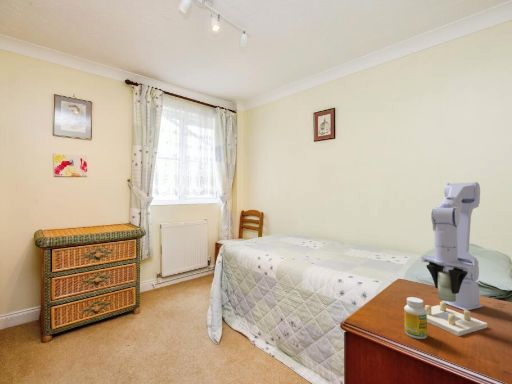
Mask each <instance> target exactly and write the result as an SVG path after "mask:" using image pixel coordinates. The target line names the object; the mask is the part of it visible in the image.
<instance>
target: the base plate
mask: <svg viewBox="0 0 512 384" xmlns="http://www.w3.org/2000/svg"><path fill="white" fill-rule="evenodd" d="M424 308H425V310H426V312H427V324H428V323H429V324H430V325H433V326H434V327H435V326H436V327H437V328H439V329H442V330H444V331H446V332H448V333H451V334H452V335H455V336H458V337H461V336H464V335H467V334H470V333H473V332H477V331H480V330H484V329H487V328H488V323H487V322H485V321H482V320H480V319H477V318H475V317H472V316H471V315H472V314H471V310H468V311H467V310H463V313H460V312H459V311H455V310H453V309H450V308H447V304H446V303H445V302H442V301H439V304H437V305H433V306H432V305H429V304H425V305H424Z"/></svg>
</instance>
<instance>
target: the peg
mask: <svg viewBox="0 0 512 384" xmlns="http://www.w3.org/2000/svg"><path fill="white" fill-rule="evenodd" d="M437 297H438V299H439V300H441V301H448V302H455V301H456V294H453V293H452V289H451V278H450V274H449V272H448V271H438V288H437Z"/></svg>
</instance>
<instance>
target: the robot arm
mask: <svg viewBox="0 0 512 384" xmlns="http://www.w3.org/2000/svg"><path fill="white" fill-rule="evenodd" d="M443 191H444V192H443V193H444V198H443V199H442V200H441V201H440V204H439V205H438V207H435V208H432V209H431V215H430V216H431V217H430V218H431V219H430V220H431V223H432V230H433V231H434V232H433V233H434V256H431V255H421V262H422V263H428V264H426V266H425V267H426V268H427V270H428V271H429V274H430V276H431V278H432V280H433V283H434V287H435V289H438V271H448V272H449V274H450V278H451V289H452V293H453V294H456V301H455V302H448V301H443V300H441V302H445V303H446V305H448V306H451V307H454V308H457V309H459V310H463V311H464V310H467V311H471V310H475V309H479V308H482V307H483V305H482V304H481V303H480V302H481V301H480V286H479V283H477V281H478V280H479V276H480V268H479V260H478V258H477V257H475V256H474V255H473V254H471V253H470V251H469V250H470V240H471V239H470V237H471V222H472V221H471V220H472V218H471V217H472V214H473V210H474V209H476V208H478V207H479V205H480V203H481V201H480V200H481V186H480V184H479V182H477V181H475V182H458V183H457V182H455V183H449V182H447V183H446V184H445V185H444V190H443Z"/></svg>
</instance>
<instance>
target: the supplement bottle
mask: <svg viewBox="0 0 512 384" xmlns="http://www.w3.org/2000/svg"><path fill="white" fill-rule="evenodd" d="M403 307H404V308H403V310H404V312H403V313H404V316H403V317H404V318H403V319H404V332H405V334H406V335H407V336H409V337H410V338H413V339H416V340H417V339H419V340H424V339H426V338H427V337H428V322H427V312H426V310H425V305H424V300H423V299H422V298H418V297H415V296H410V297H406V305H405V306H403Z"/></svg>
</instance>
